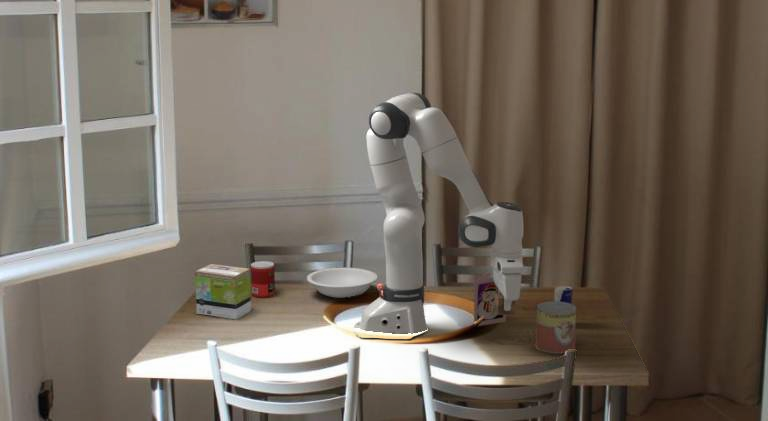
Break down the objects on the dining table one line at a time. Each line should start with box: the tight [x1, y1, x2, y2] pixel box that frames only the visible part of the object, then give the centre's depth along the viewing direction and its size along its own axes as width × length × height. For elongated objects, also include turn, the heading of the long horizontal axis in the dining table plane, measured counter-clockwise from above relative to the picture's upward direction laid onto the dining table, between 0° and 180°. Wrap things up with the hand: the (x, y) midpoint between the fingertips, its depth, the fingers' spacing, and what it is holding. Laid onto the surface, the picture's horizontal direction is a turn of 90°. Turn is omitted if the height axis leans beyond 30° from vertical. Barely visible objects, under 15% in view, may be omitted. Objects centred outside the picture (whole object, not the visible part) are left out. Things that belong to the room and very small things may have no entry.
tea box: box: [194, 263, 252, 321], centre depth 331 cm, size 15×10×15 cm, turn 68°
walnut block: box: [494, 293, 517, 316], centre depth 294 cm, size 5×5×5 cm
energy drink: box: [554, 285, 573, 304], centre depth 317 cm, size 5×5×12 cm
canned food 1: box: [250, 260, 276, 299], centre depth 350 cm, size 8×8×11 cm
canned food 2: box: [535, 300, 577, 354], centre depth 298 cm, size 11×11×12 cm
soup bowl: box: [306, 267, 378, 299], centre depth 350 cm, size 24×24×7 cm
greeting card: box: [473, 271, 507, 327], centre depth 321 cm, size 11×7×15 cm, turn 115°
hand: (504, 306), depth 294 cm, fingers closed on walnut block, 5 cm apart
